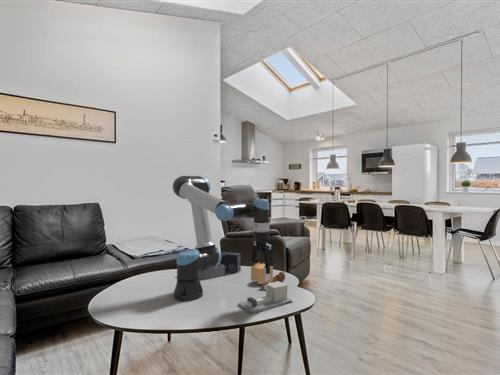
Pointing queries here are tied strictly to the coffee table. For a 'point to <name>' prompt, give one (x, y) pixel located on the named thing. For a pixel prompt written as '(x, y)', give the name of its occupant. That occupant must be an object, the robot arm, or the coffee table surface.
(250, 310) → the rail board
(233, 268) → the small box
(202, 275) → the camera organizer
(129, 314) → the coffee table surface
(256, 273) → the block
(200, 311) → the coffee table surface
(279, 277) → the lion figurine
